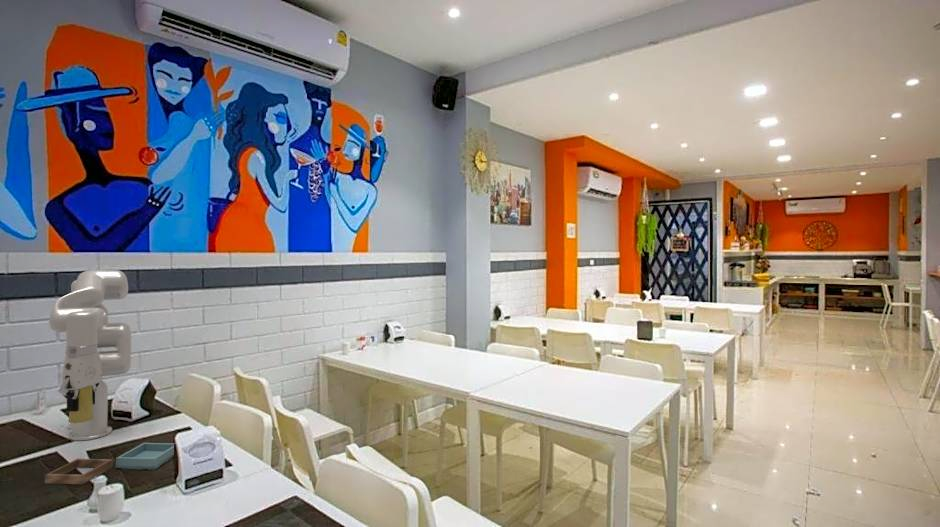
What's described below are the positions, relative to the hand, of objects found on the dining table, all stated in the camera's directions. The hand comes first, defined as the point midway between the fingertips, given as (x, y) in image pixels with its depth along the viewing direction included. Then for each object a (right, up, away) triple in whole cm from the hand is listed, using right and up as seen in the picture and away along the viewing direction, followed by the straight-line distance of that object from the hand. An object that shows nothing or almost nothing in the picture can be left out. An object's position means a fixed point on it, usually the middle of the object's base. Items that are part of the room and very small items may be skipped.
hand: (81, 407), depth 146 cm
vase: (0, -4, 0) cm, 4 cm away
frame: (0, -21, 0) cm, 21 cm away
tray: (+14, -21, +11) cm, 28 cm away
